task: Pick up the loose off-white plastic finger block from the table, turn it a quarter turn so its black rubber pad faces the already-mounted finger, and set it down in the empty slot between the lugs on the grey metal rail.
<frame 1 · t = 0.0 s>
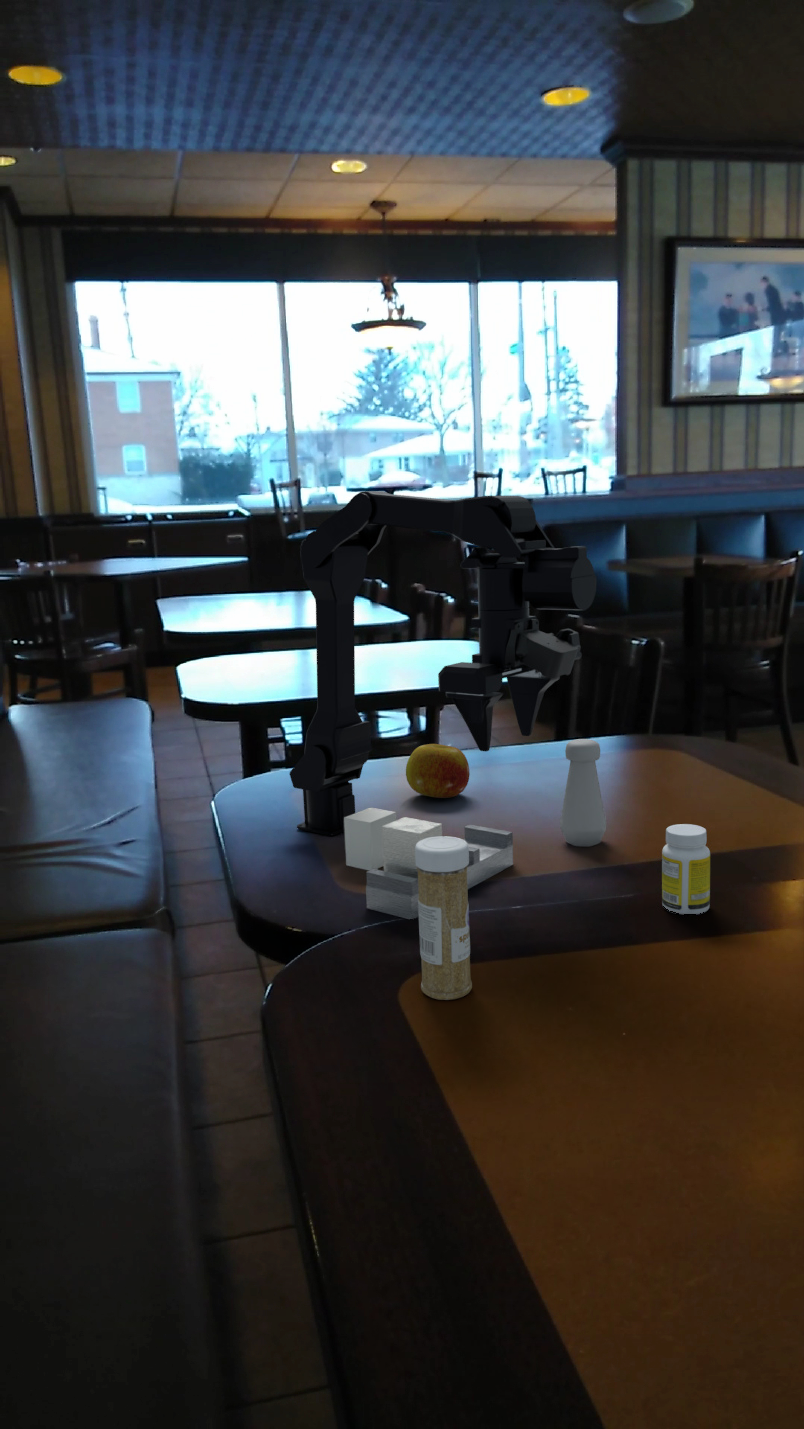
hand: (506, 743, 117), 15 cm above the table, fingers open, 9 cm apart
fruit: (438, 798, 150), on the table
salt shaker: (583, 843, 126), on the table
sprinkles bottle: (446, 992, 88), on the table
supplement bottle: (685, 909, 104), on the table
finger: (372, 862, 122), on the table
rail: (443, 885, 113), on the table
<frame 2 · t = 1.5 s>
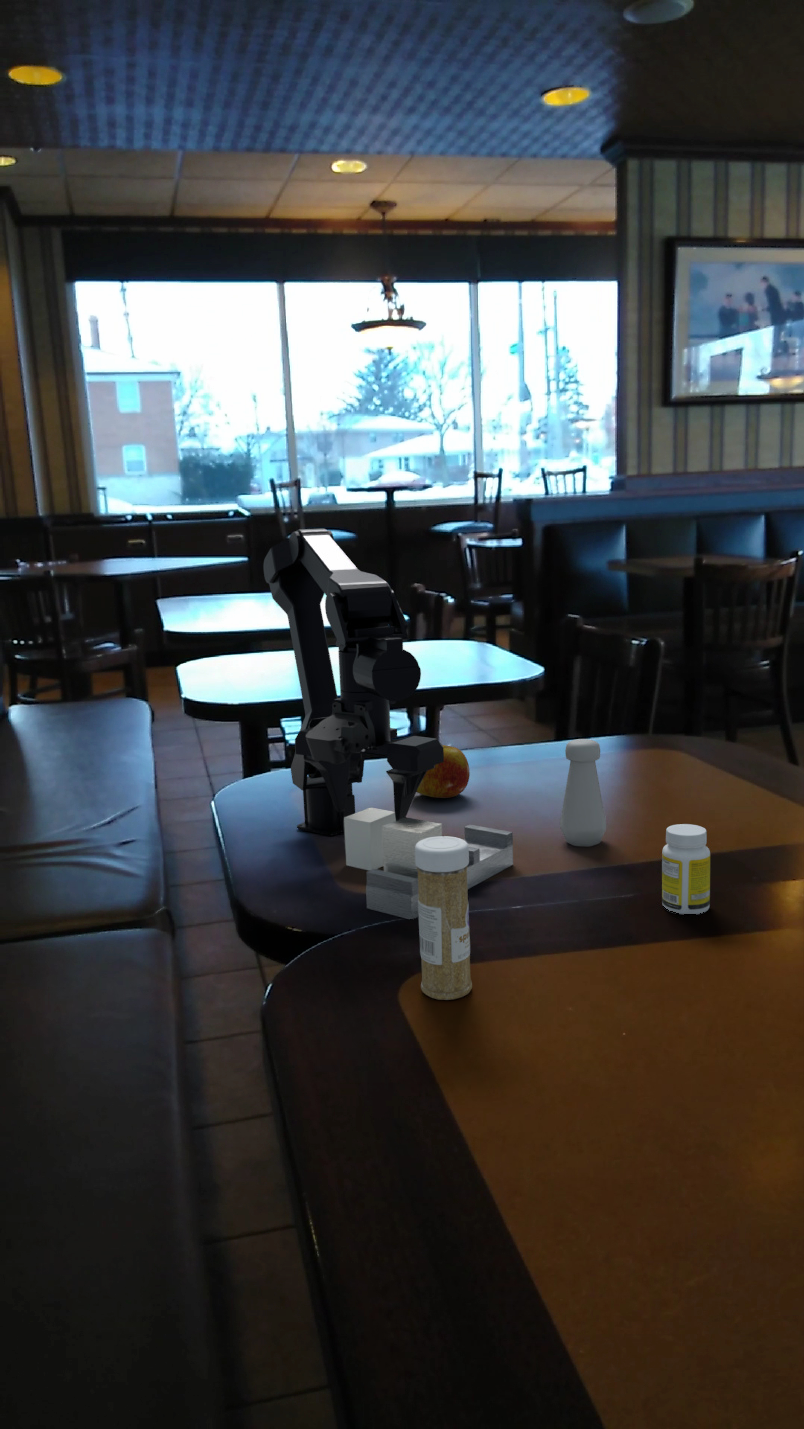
hand: (369, 816, 121), 6 cm above the table, fingers open, 9 cm apart
nothing on the table moved.
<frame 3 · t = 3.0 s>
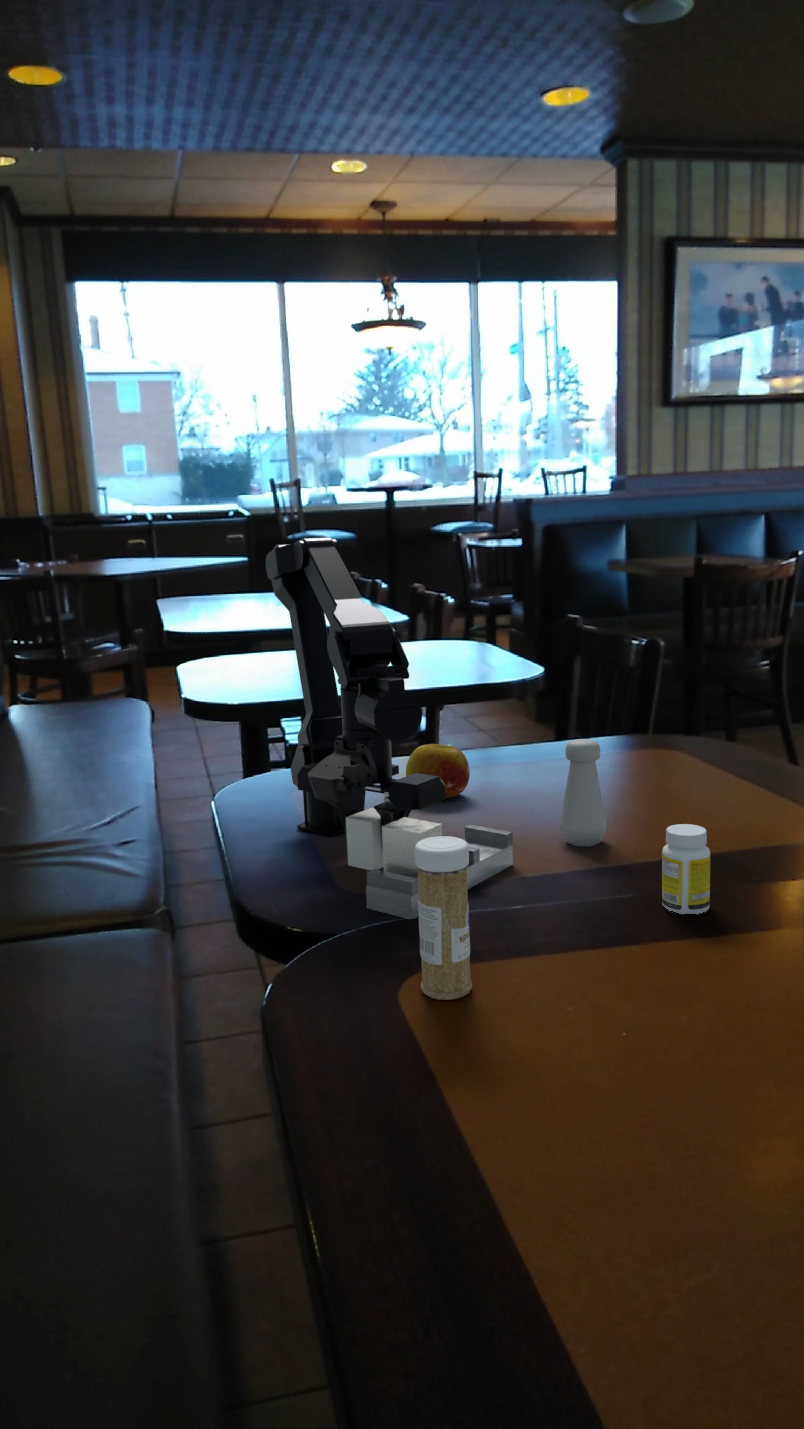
hand: (371, 852, 122), 1 cm above the table, fingers closed on finger, 5 cm apart
finger: (374, 862, 122), on the table, touching gripper
everything else where it was.
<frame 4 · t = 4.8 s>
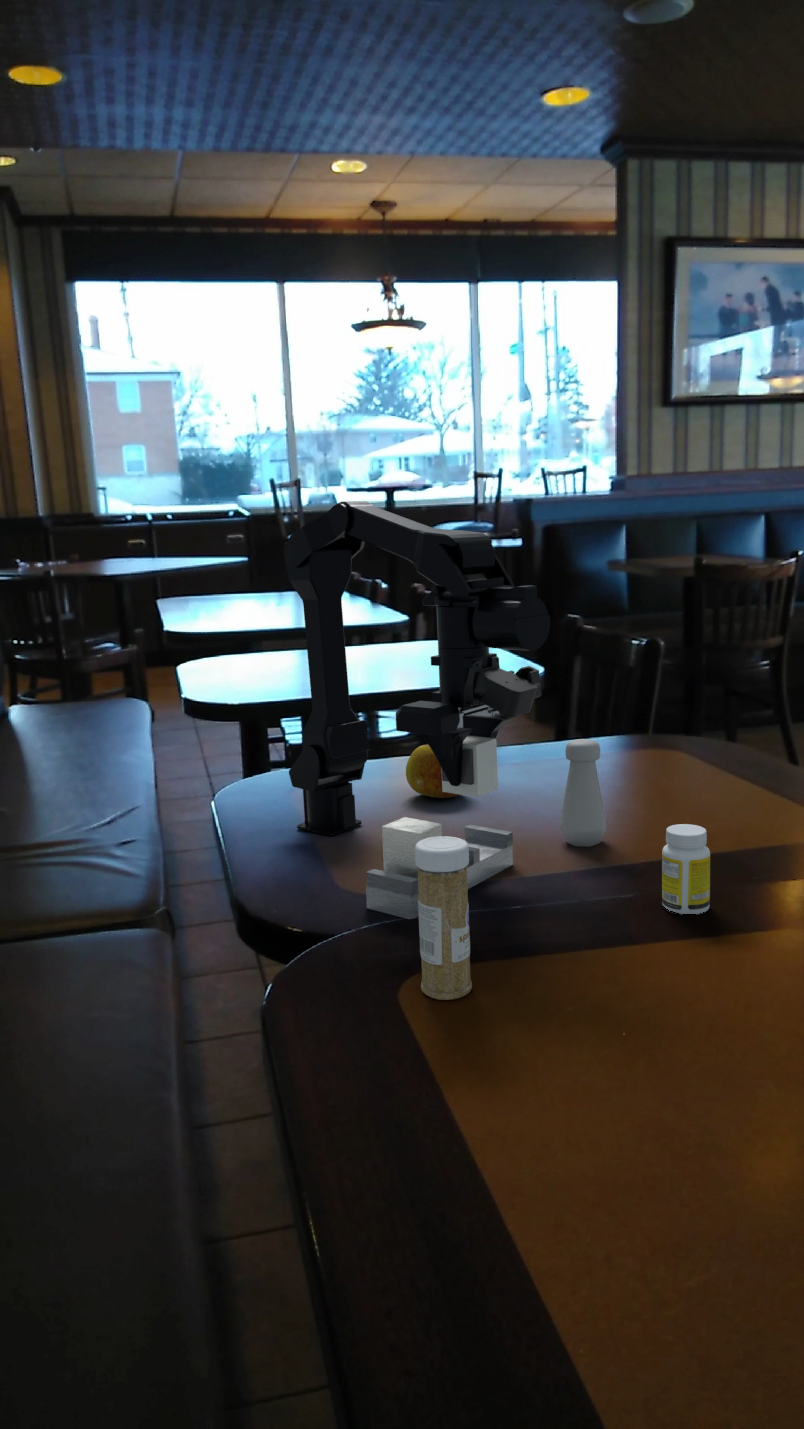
hand: (467, 781, 116), 11 cm above the table, fingers closed on finger, 5 cm apart
finger: (470, 790, 116), point 10 cm above the table, touching gripper
everything else where it was.
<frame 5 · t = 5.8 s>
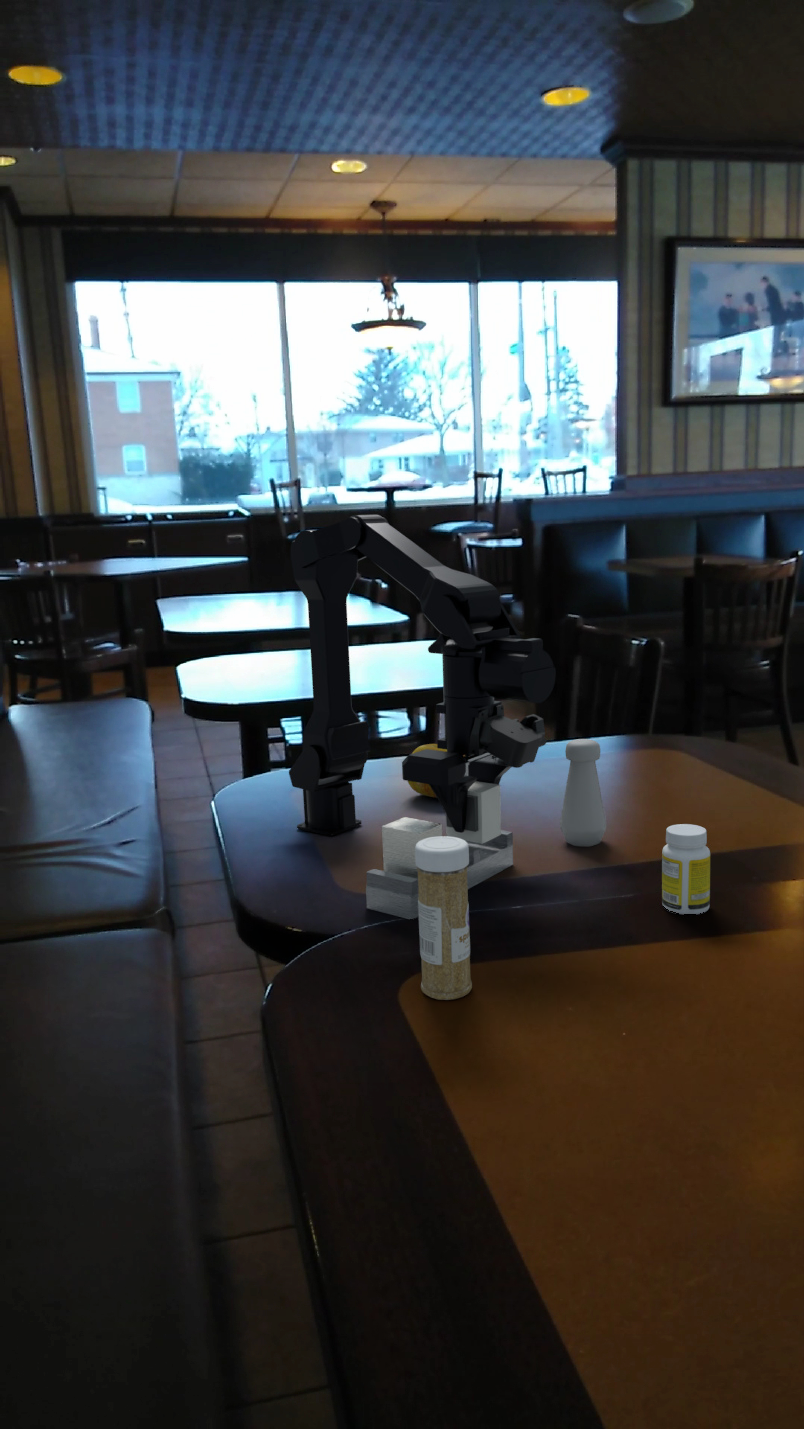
hand: (471, 826, 117), 5 cm above the table, fingers closed on finger, 5 cm apart
finger: (473, 835, 117), point 4 cm above the table, touching gripper
everything else where it was.
when the fingers open (5 cm above the table, at t = 6.6 s): finger drops 1 cm, resting on rail.
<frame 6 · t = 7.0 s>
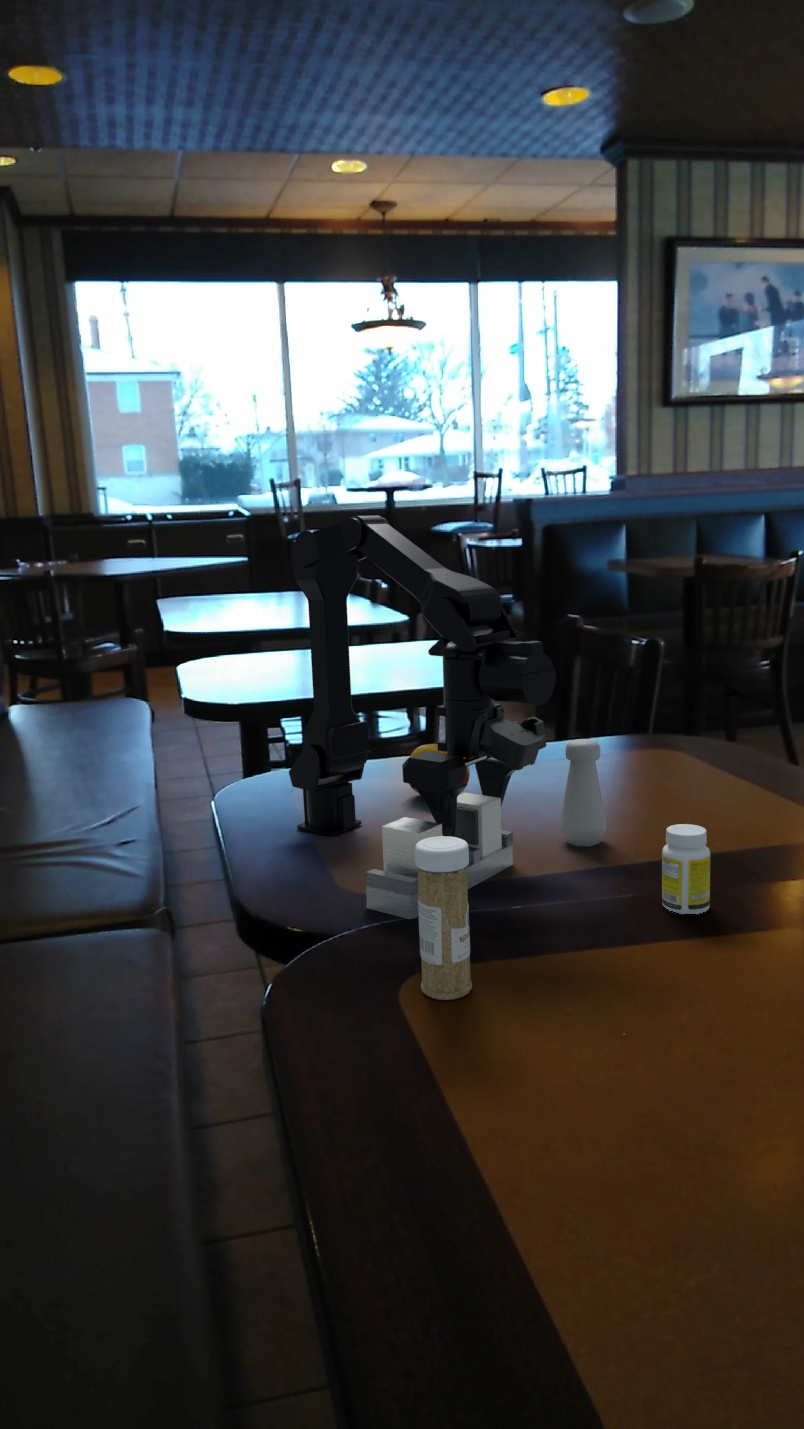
hand: (471, 828, 117), 5 cm above the table, fingers open, 9 cm apart
finger: (474, 848, 117), point 2 cm above the table, touching rail
everything else where it was.
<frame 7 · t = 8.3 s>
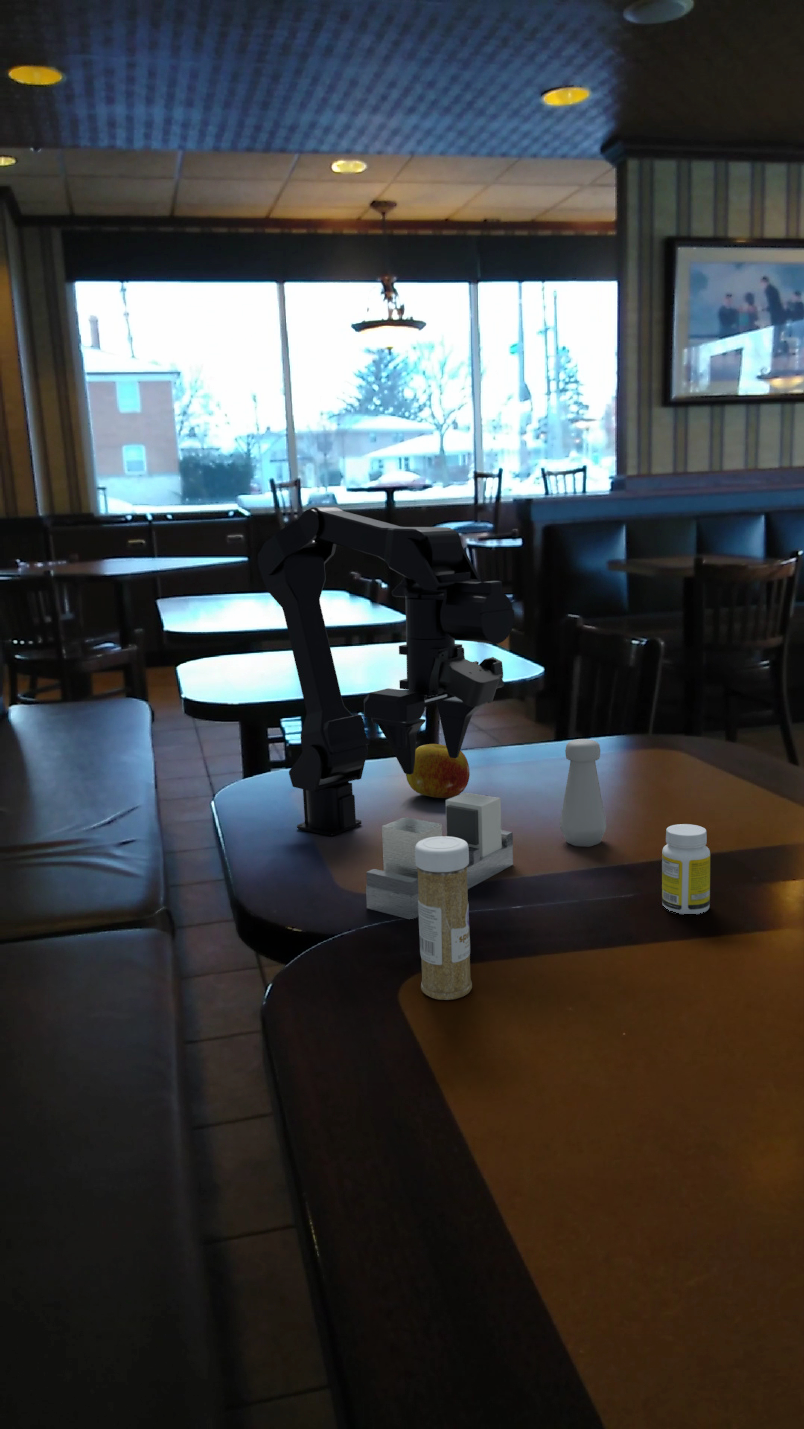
hand: (431, 765, 121), 11 cm above the table, fingers open, 9 cm apart
nothing on the table moved.
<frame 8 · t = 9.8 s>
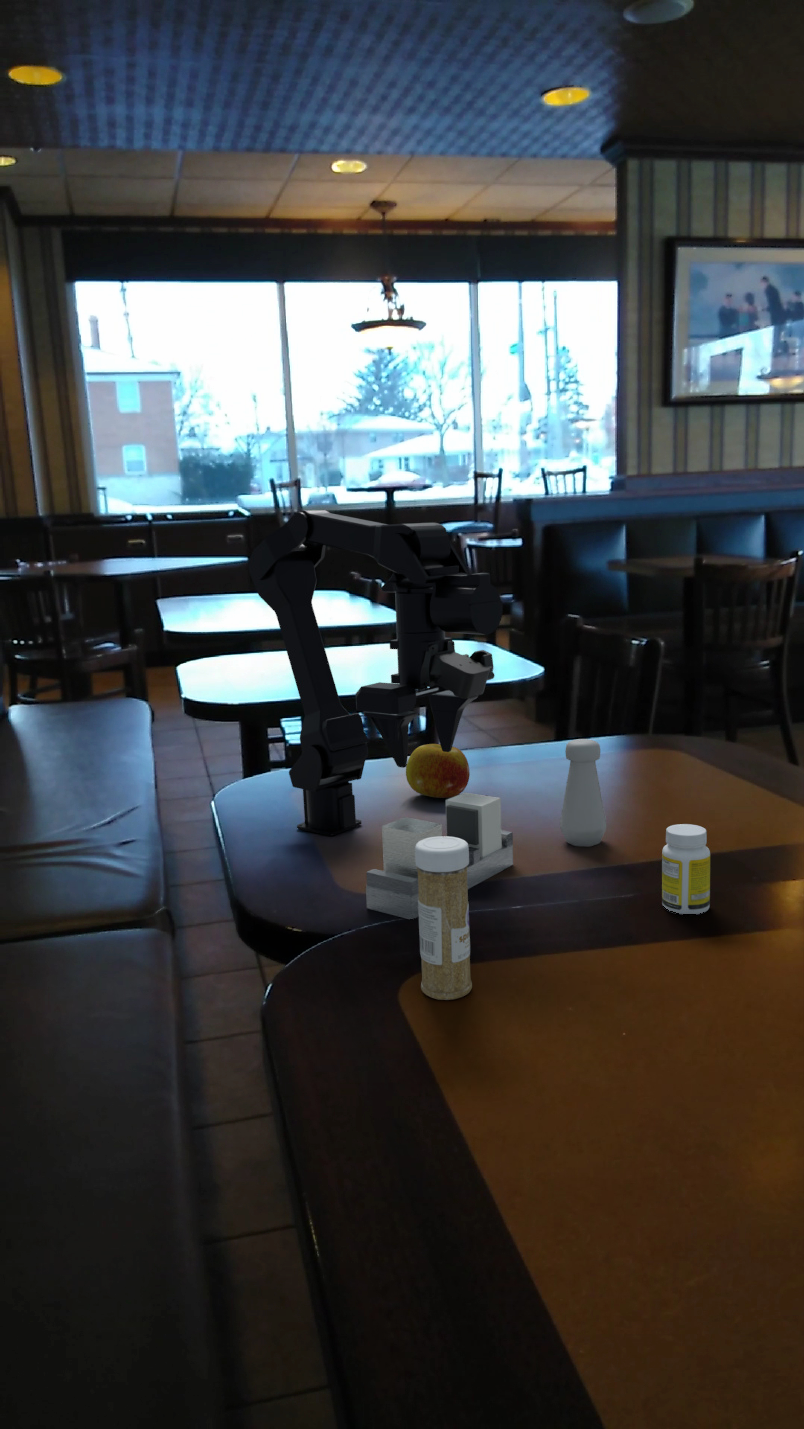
hand: (424, 759, 122), 12 cm above the table, fingers open, 9 cm apart
nothing on the table moved.
at the end: finger 0.3 cm from the target spot on the rail, point 2.5 cm above the rail's base; finger tilted 0°; the gripper is holding nothing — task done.
